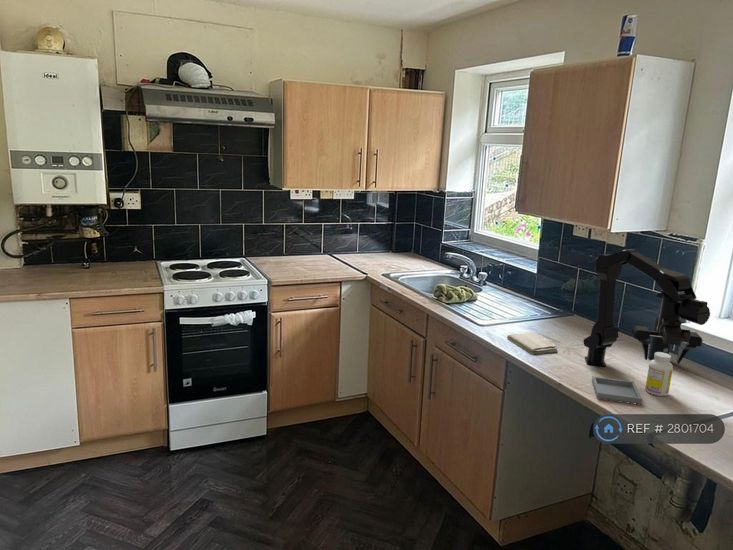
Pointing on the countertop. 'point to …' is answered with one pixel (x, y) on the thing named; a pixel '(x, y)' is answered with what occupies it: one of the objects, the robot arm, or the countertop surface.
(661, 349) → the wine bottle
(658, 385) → the supplement bottle
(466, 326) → the countertop surface
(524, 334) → the washcloth
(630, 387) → the tray
